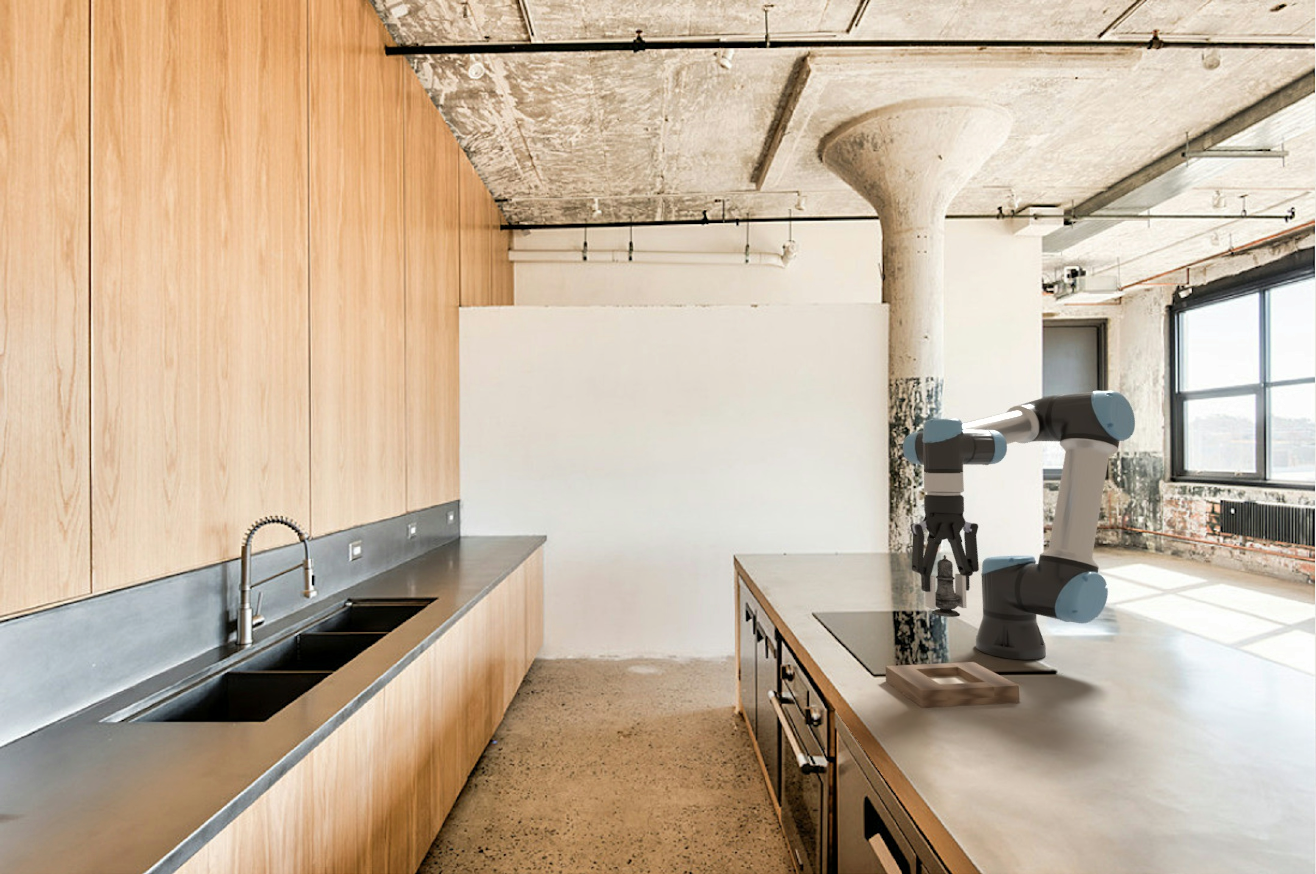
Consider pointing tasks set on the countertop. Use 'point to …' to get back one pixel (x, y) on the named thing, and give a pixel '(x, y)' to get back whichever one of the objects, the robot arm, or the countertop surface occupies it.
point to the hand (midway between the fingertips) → (945, 606)
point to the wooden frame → (951, 684)
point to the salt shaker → (945, 590)
